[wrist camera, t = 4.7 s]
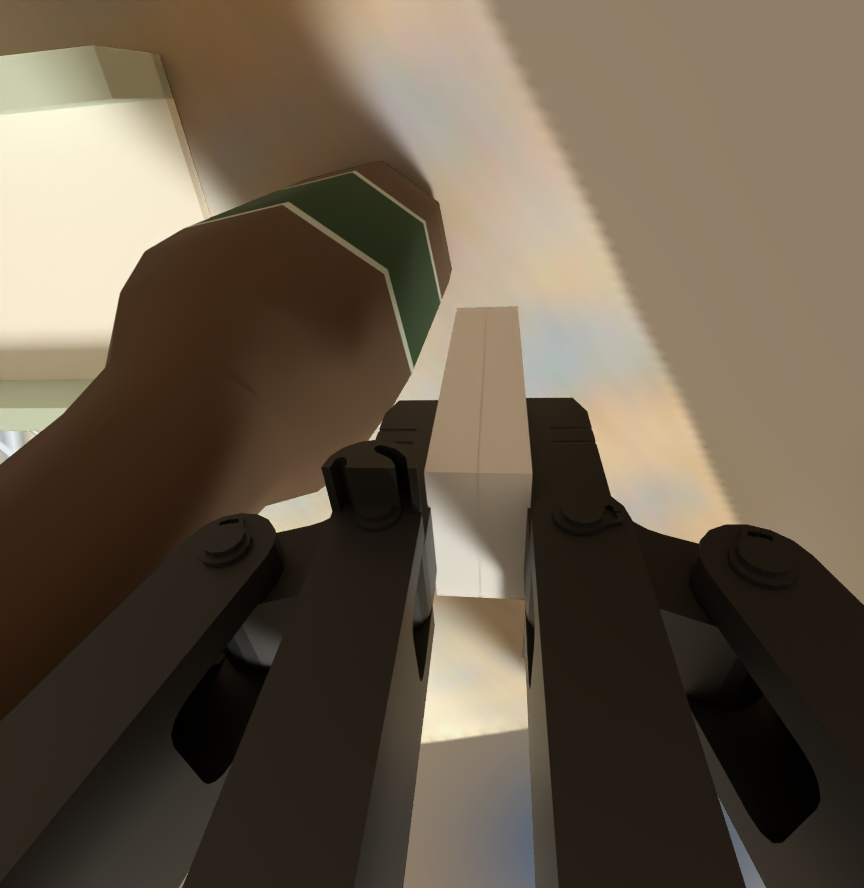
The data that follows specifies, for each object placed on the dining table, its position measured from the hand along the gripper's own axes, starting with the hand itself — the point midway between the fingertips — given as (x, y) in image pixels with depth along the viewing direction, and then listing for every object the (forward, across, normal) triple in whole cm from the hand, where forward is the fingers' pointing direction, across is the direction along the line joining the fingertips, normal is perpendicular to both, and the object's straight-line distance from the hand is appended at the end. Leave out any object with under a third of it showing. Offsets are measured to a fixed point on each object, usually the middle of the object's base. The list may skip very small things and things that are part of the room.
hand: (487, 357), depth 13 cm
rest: (+12, -24, 0) cm, 27 cm away
